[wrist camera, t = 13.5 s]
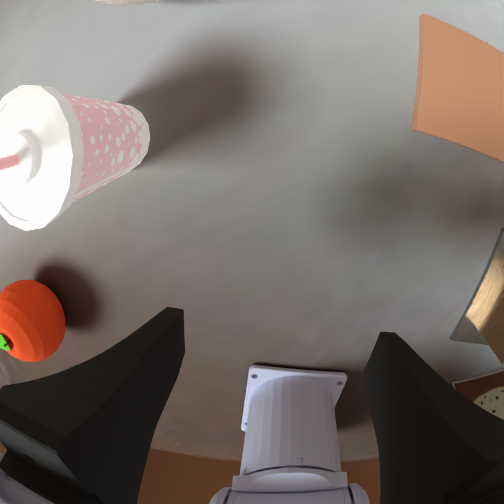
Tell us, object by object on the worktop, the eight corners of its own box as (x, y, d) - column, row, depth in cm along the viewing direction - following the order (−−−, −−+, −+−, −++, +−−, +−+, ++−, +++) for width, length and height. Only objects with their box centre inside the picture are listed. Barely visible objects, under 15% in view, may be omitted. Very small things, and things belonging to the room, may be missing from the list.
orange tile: (507, 163, 15) (514, 60, 11) (416, 130, 15) (423, 13, 12) (498, 161, 16) (506, 61, 12) (409, 129, 16) (417, 18, 13)
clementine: (38, 332, 25) (0, 374, 19) (9, 272, 23) (-38, 308, 16) (91, 331, 24) (51, 384, 17) (59, 260, 21) (4, 305, 15)
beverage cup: (122, 74, 16) (-74, 53, 3) (181, 139, 17) (-15, 191, 4) (67, 141, 18) (-108, 194, 5) (118, 203, 19) (-47, 318, 6)
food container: (421, 421, 26) (443, 495, 17) (439, 384, 23) (472, 466, 14) (501, 399, 24) (530, 457, 15) (522, 362, 22) (560, 423, 13)
